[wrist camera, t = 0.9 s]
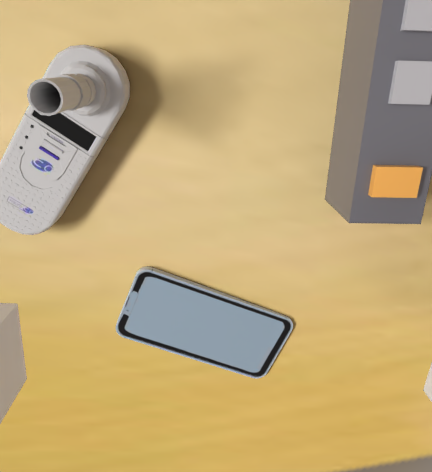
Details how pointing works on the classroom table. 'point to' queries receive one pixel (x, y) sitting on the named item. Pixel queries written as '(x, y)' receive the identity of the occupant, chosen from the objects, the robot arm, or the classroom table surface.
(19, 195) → the electronic device
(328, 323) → the classroom table surface
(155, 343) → the smartphone
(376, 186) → the power strip
